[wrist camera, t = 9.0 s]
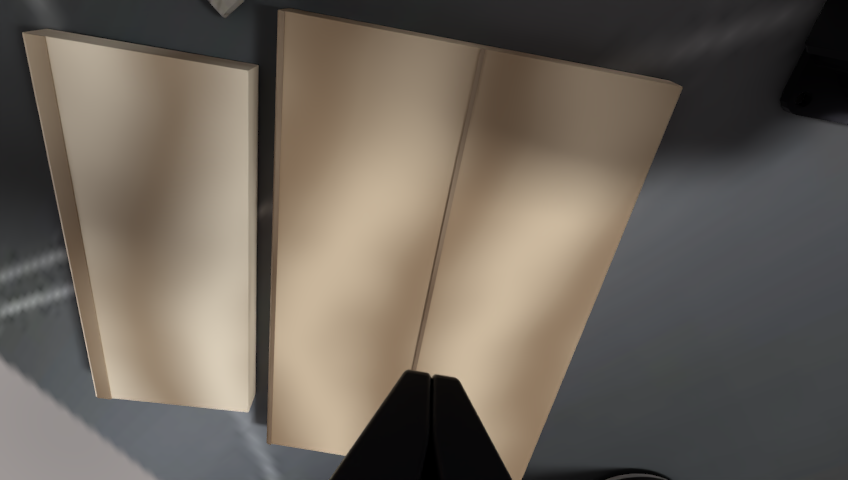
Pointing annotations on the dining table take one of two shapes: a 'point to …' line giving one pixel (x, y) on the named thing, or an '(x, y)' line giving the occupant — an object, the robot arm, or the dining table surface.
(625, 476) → the beverage can
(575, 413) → the dining table surface
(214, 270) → the plank
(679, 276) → the dining table surface
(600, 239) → the laid floor
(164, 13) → the dining table surface
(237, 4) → the packaged product
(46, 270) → the dining table surface
